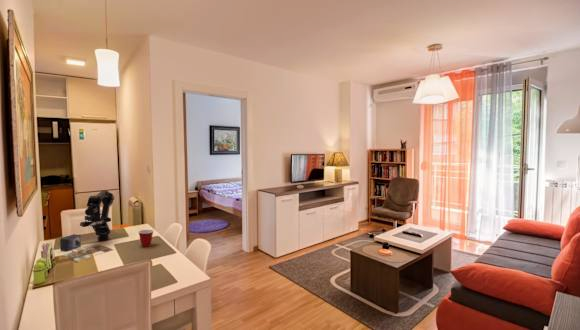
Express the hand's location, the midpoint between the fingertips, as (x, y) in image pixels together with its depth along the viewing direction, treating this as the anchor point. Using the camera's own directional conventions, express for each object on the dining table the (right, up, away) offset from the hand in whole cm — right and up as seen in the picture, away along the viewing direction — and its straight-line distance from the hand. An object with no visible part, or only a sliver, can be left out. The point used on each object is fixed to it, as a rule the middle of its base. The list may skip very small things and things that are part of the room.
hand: (96, 233), depth 209 cm
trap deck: (+4, -12, -12) cm, 18 cm away
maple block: (+1, -11, -18) cm, 21 cm away
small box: (-14, -12, -6) cm, 19 cm away
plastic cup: (+36, -11, +4) cm, 37 cm away
